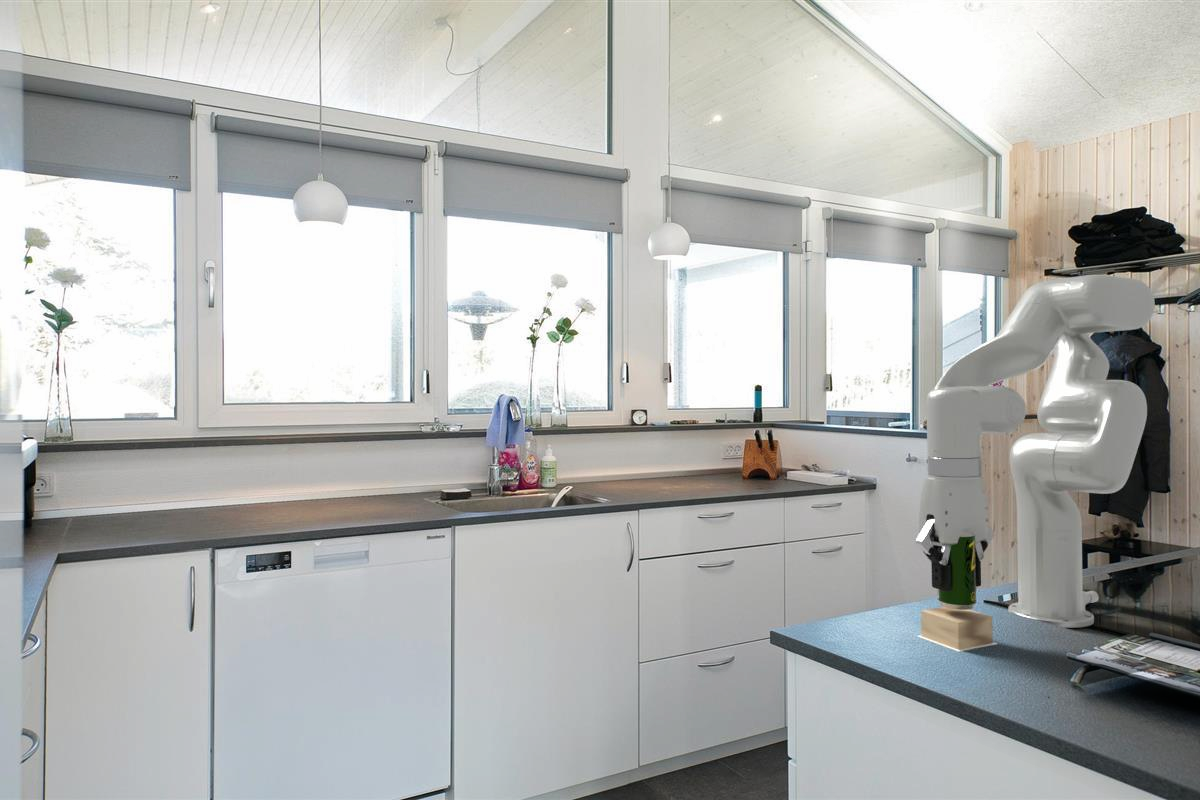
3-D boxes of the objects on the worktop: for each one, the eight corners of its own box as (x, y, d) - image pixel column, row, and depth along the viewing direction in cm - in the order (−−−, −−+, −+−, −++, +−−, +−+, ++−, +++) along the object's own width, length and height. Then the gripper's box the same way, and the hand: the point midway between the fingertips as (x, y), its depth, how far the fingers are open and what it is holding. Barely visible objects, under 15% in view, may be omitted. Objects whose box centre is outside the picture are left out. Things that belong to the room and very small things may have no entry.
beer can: (940, 609, 115) (938, 529, 115) (935, 599, 120) (934, 523, 120) (979, 611, 114) (977, 530, 114) (973, 601, 119) (971, 524, 119)
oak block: (954, 630, 122) (954, 605, 122) (992, 643, 115) (992, 616, 115) (921, 636, 119) (921, 610, 119) (958, 649, 112) (958, 622, 112)
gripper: (974, 463, 124) (976, 575, 124) (892, 470, 117) (895, 588, 117) (1015, 467, 117) (1018, 585, 117) (931, 474, 110) (933, 599, 110)
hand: (956, 585), depth 117 cm, fingers closed on beer can, 5 cm apart
